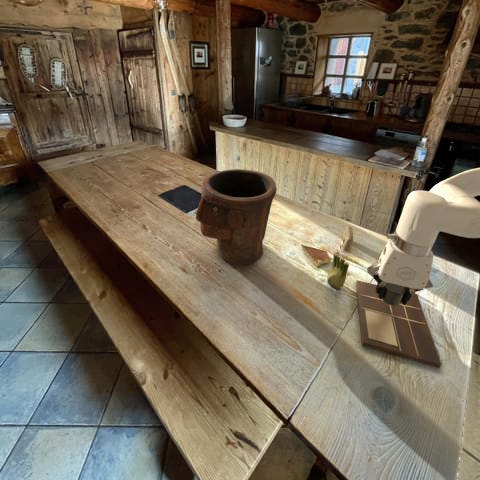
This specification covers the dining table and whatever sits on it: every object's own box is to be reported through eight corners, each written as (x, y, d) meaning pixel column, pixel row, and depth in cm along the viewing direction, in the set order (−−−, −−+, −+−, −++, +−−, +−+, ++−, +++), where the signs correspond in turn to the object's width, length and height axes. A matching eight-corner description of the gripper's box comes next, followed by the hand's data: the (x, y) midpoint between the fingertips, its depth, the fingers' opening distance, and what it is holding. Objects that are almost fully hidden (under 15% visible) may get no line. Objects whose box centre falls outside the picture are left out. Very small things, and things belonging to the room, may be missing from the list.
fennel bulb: (344, 291, 87) (351, 264, 81) (329, 292, 86) (336, 264, 81) (338, 278, 92) (344, 251, 87) (324, 278, 92) (329, 251, 86)
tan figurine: (337, 253, 103) (337, 235, 113) (348, 258, 102) (347, 238, 112) (344, 240, 99) (343, 222, 109) (356, 244, 98) (354, 226, 109)
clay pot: (188, 242, 107) (182, 175, 94) (251, 223, 119) (253, 162, 106) (211, 288, 87) (208, 211, 74) (284, 260, 99) (292, 189, 86)
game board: (415, 297, 85) (417, 293, 84) (439, 368, 66) (441, 364, 65) (355, 283, 90) (356, 279, 89) (362, 345, 71) (363, 341, 70)
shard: (300, 247, 106) (301, 244, 105) (316, 243, 108) (317, 240, 107) (316, 266, 96) (316, 263, 96) (333, 262, 99) (334, 258, 98)
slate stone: (398, 293, 71) (403, 282, 69) (402, 308, 67) (407, 297, 65) (379, 288, 72) (382, 277, 70) (382, 303, 68) (386, 292, 66)
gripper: (374, 244, 60) (357, 300, 68) (462, 262, 56) (432, 319, 64) (370, 225, 67) (355, 278, 75) (448, 240, 62) (423, 294, 70)
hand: (391, 297), depth 69 cm, fingers closed on slate stone, 4 cm apart
